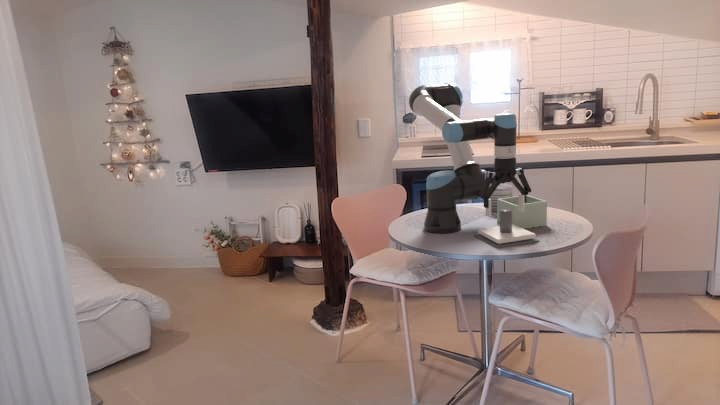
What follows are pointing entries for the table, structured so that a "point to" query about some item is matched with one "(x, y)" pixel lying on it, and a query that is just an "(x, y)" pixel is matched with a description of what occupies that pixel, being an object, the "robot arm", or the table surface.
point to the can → (500, 195)
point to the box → (532, 211)
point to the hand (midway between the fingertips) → (505, 213)
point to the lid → (506, 230)
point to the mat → (505, 243)
